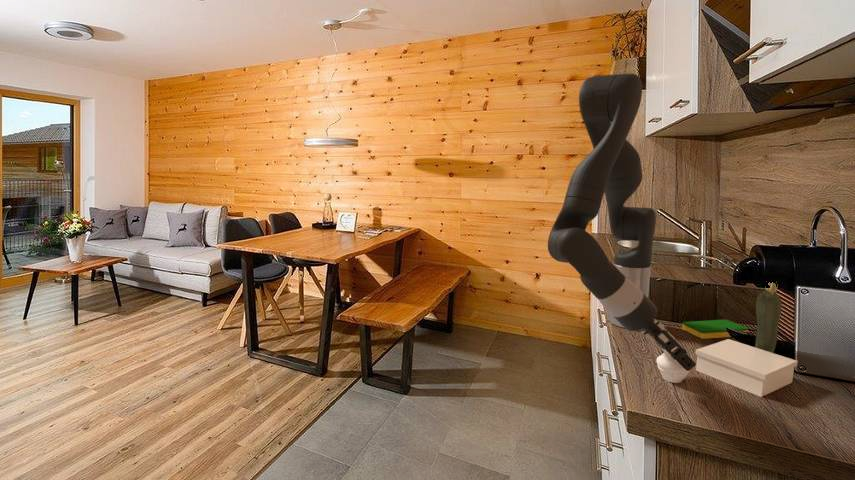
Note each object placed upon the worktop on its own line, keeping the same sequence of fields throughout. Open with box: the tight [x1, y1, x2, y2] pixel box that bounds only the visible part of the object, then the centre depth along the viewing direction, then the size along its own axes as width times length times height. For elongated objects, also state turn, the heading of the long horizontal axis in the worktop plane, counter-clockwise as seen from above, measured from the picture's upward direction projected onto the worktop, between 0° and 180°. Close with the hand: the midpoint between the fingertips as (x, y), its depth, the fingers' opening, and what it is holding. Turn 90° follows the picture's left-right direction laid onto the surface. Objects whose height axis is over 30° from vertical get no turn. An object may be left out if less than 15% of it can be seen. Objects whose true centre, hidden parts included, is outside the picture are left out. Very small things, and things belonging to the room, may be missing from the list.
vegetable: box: [754, 282, 783, 353], centre depth 90 cm, size 4×4×20 cm
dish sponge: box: [681, 319, 749, 340], centre depth 108 cm, size 7×14×2 cm, turn 98°
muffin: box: [656, 347, 691, 384], centre depth 83 cm, size 6×6×7 cm
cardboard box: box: [694, 338, 798, 398], centre depth 84 cm, size 13×13×5 cm
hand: (680, 357), depth 82 cm, fingers open, 8 cm apart
